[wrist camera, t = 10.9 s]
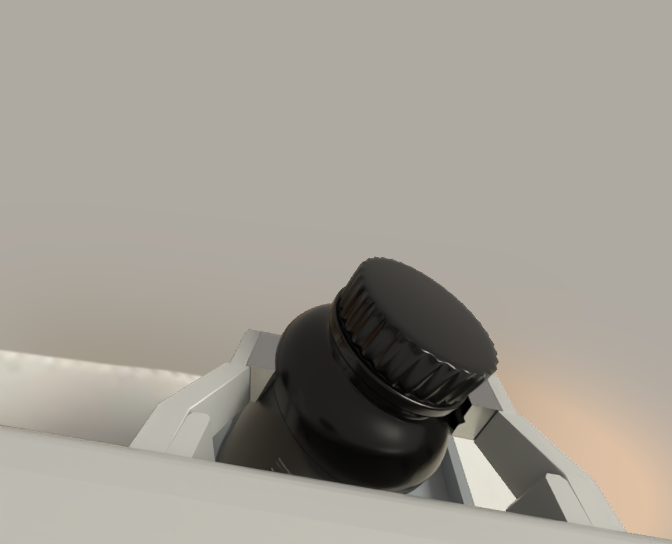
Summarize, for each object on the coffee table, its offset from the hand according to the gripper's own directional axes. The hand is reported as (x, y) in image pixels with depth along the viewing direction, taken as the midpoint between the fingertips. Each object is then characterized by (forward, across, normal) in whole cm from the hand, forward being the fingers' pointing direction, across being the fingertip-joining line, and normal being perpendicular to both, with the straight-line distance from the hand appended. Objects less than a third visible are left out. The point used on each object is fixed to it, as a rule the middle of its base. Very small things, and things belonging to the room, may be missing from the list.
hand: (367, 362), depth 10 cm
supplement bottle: (-1, -3, -8) cm, 9 cm away
